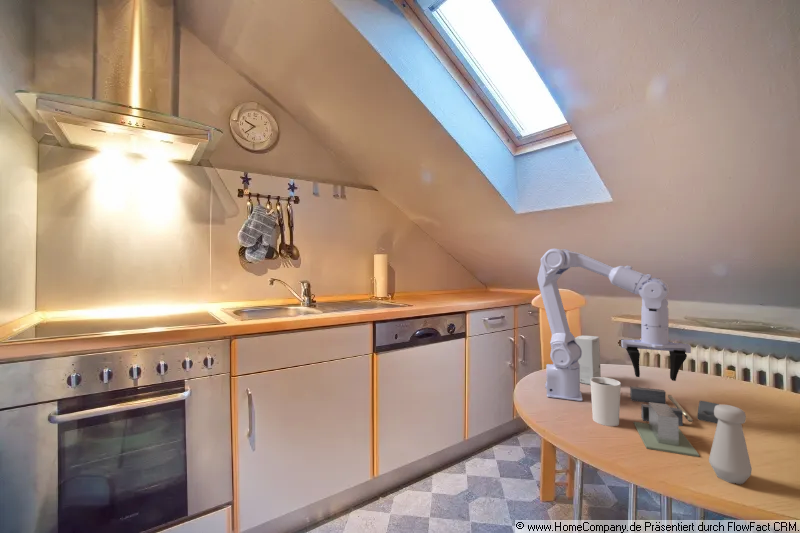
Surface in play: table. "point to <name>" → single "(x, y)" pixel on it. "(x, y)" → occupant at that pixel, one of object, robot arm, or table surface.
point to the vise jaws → (656, 397)
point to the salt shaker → (730, 446)
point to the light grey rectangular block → (663, 424)
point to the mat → (653, 444)
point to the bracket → (707, 412)
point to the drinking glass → (605, 400)
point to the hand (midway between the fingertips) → (654, 377)
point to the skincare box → (589, 358)
